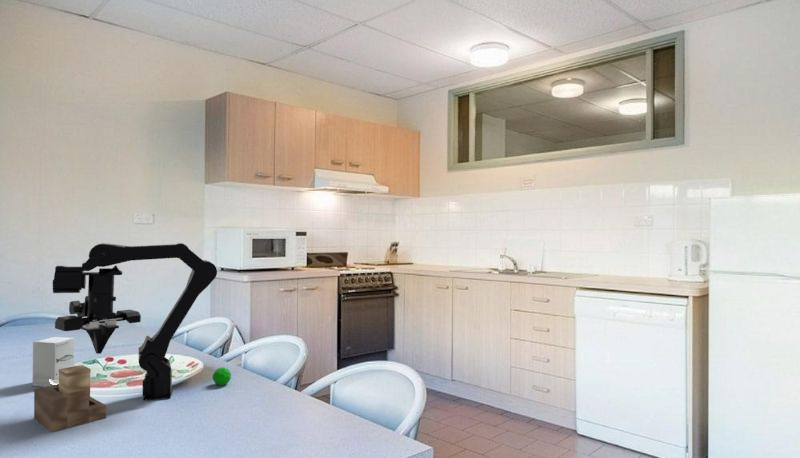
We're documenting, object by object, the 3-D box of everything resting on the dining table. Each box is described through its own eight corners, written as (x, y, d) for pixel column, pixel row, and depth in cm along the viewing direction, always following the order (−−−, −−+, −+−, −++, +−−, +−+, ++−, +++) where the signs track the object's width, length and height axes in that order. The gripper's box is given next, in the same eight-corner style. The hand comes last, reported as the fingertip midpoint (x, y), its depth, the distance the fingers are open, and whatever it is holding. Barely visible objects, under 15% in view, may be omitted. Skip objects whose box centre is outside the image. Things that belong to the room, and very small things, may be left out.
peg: (82, 393, 129) (82, 365, 129) (90, 398, 126) (90, 368, 126) (58, 398, 125) (58, 369, 125) (66, 403, 122) (66, 373, 122)
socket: (86, 406, 133) (86, 378, 133) (105, 417, 125) (106, 388, 125) (34, 418, 124) (34, 389, 124) (52, 432, 116) (52, 400, 116)
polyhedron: (208, 386, 150) (209, 369, 150) (220, 381, 155) (220, 365, 155) (222, 388, 148) (223, 371, 148) (234, 383, 153) (234, 367, 153)
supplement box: (53, 388, 147) (54, 343, 146) (31, 386, 148) (31, 341, 148) (75, 380, 154) (75, 337, 154) (53, 378, 155) (54, 335, 155)
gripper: (121, 287, 147) (119, 342, 147) (46, 292, 131) (43, 354, 131) (142, 291, 140) (140, 349, 140) (66, 296, 125) (64, 362, 125)
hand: (98, 353), depth 134 cm, fingers closed
